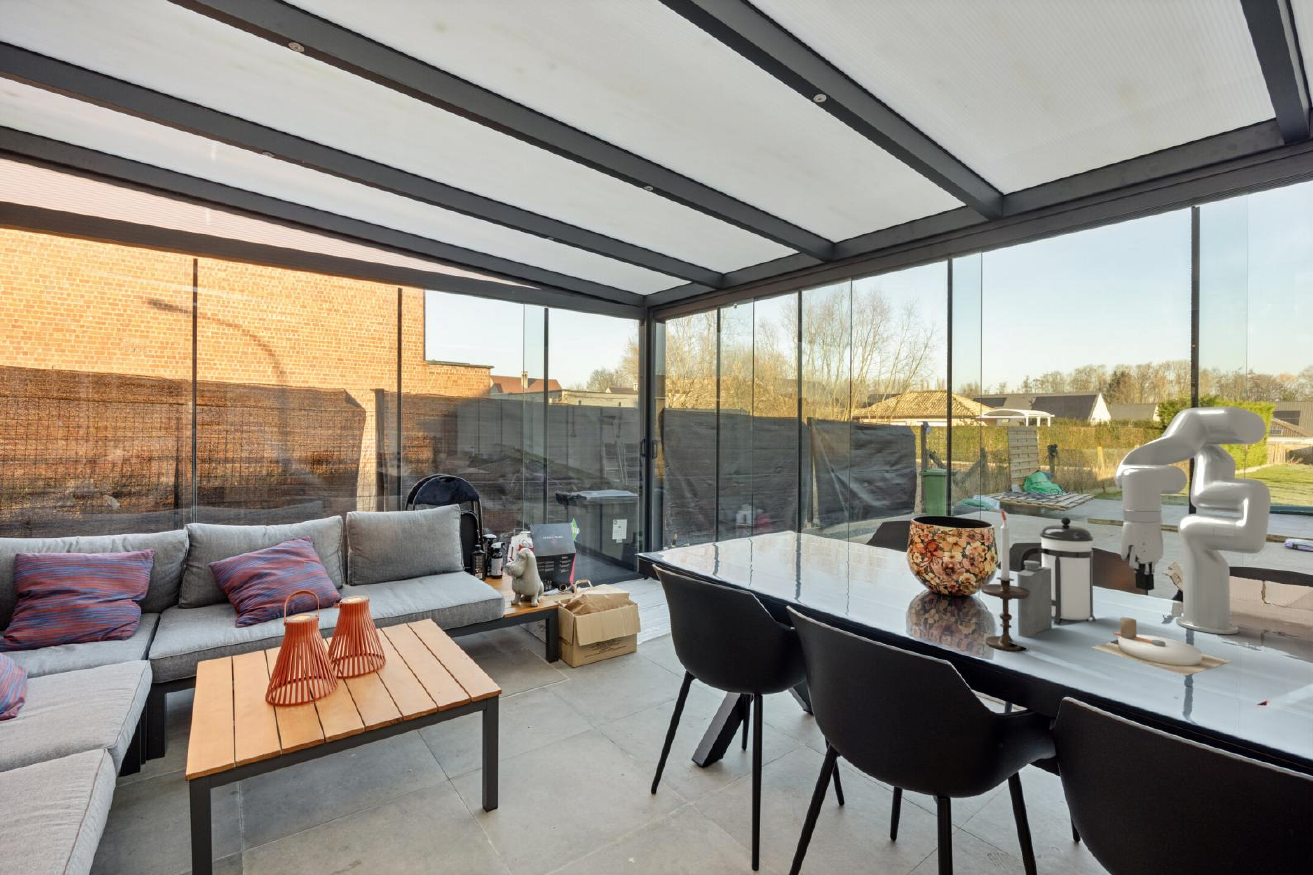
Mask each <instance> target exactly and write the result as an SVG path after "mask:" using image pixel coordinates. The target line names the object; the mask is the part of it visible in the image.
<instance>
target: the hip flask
mask: <svg viewBox="0 0 1313 875" xmlns="http://www.w3.org/2000/svg"><path fill="white" fill-rule="evenodd" d="M1024 564H1025V565H1026V566H1025V568H1026V570H1023V571H1021V572H1019V571H1018V573H1017V587H1021V588H1025V589H1027V590H1029V591H1030V597H1029V598H1026V599H1017V624H1018V625H1017V636H1018V637H1024V638H1033V636H1034V635H1036V634H1037V633H1039V632H1040V633H1041V632H1044V631H1048V630H1052V629H1053V627H1052V626H1053V623H1052V622H1053V621H1052V620H1053V619H1052V617H1053V616H1052V600H1051V568H1049V567H1042V566H1041V565H1040V564H1041V562H1040V561H1036V560H1027V561H1024Z"/></svg>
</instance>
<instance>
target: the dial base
mask: <svg viewBox="0 0 1313 875" xmlns="http://www.w3.org/2000/svg"><path fill="white" fill-rule="evenodd" d="M1090 648H1092V649H1095V650H1098V651H1102V652H1105V653H1109V654H1112V655H1116V656H1119V657H1122V658H1126V659H1129V660H1131V661H1134V662H1135V661H1136V662H1139V663H1142V664H1146V665H1149V666H1153V667H1156V668H1159V669H1163V670H1166V671H1169V672H1173V673H1177V674H1181V675H1184V676H1186V677H1187V676H1191V675H1193V674H1197V673H1200V672H1202V671H1206V670H1209V669H1212V668H1216V667H1219V666H1223V665H1225V664H1229V663H1231V662H1232V660H1228V659H1224V658H1219V657H1216V656H1212V655H1208V654H1204V653H1202V662H1201V663H1200V664H1197V665H1173V664H1165V663H1159V662H1154V661H1149V660H1145V659H1142V658H1138V657H1135V656H1132V655H1130V654H1127V653H1125V652H1123V651H1122V650H1120V649H1119V647H1118V639H1116V640H1111V641H1110V642H1107V643H1103V644H1099V645H1096V646H1095V645H1094V646H1092V647H1090Z"/></svg>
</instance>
